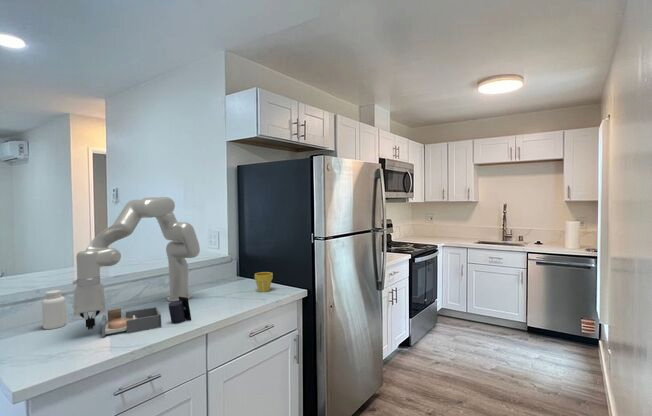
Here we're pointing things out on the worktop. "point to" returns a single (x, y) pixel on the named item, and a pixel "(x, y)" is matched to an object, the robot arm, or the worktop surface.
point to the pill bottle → (53, 310)
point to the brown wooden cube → (114, 314)
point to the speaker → (179, 310)
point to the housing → (143, 319)
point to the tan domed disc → (117, 323)
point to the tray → (107, 331)
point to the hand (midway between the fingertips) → (90, 328)
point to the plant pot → (263, 281)
